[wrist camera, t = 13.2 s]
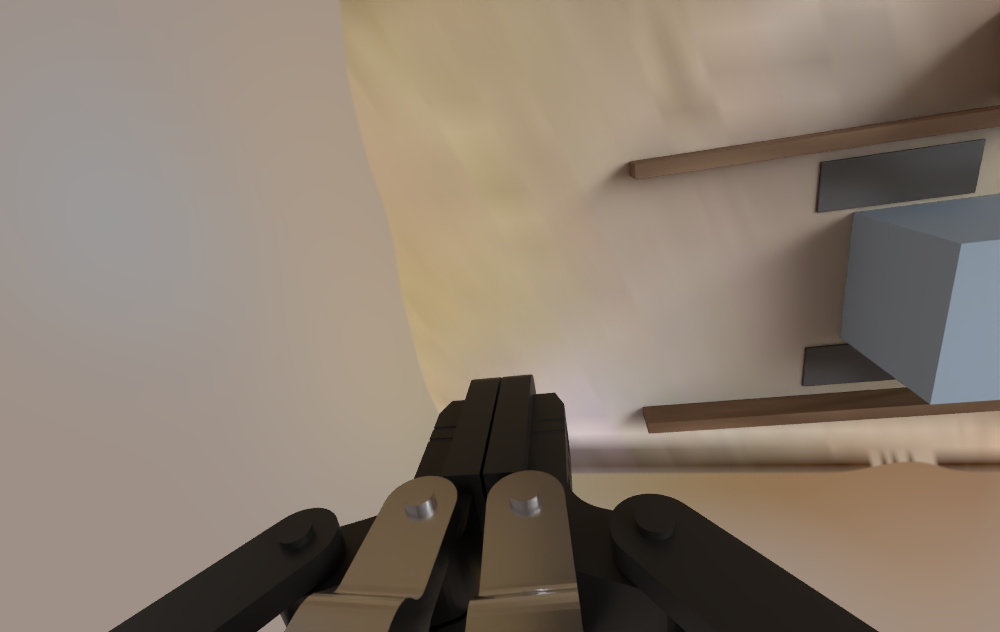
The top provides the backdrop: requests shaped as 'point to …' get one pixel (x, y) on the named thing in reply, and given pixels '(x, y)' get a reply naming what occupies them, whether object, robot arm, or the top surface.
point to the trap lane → (838, 189)
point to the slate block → (928, 296)
